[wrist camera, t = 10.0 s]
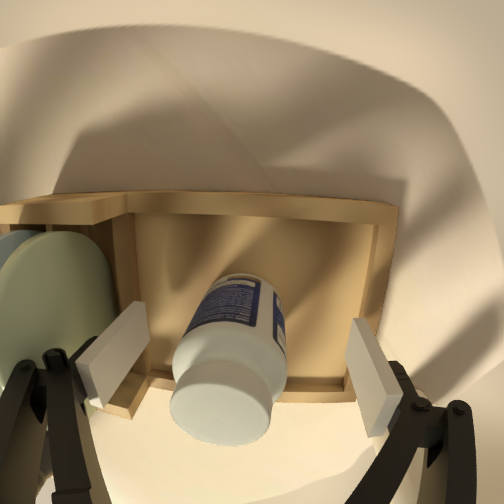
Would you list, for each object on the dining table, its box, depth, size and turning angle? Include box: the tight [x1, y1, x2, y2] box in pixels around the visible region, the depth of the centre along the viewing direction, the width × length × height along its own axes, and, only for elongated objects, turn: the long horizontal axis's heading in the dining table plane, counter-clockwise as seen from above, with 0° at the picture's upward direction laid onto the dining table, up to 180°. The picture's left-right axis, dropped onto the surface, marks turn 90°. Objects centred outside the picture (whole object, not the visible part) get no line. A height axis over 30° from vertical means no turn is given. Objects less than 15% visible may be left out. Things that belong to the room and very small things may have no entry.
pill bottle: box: [170, 273, 288, 446], centre depth 14 cm, size 5×5×10 cm
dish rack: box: [0, 190, 399, 420], centre depth 17 cm, size 25×15×6 cm, turn 88°
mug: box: [372, 389, 427, 504], centre depth 17 cm, size 10×7×12 cm, turn 1°
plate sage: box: [0, 231, 119, 431], centre depth 14 cm, size 1×12×12 cm, turn 178°
